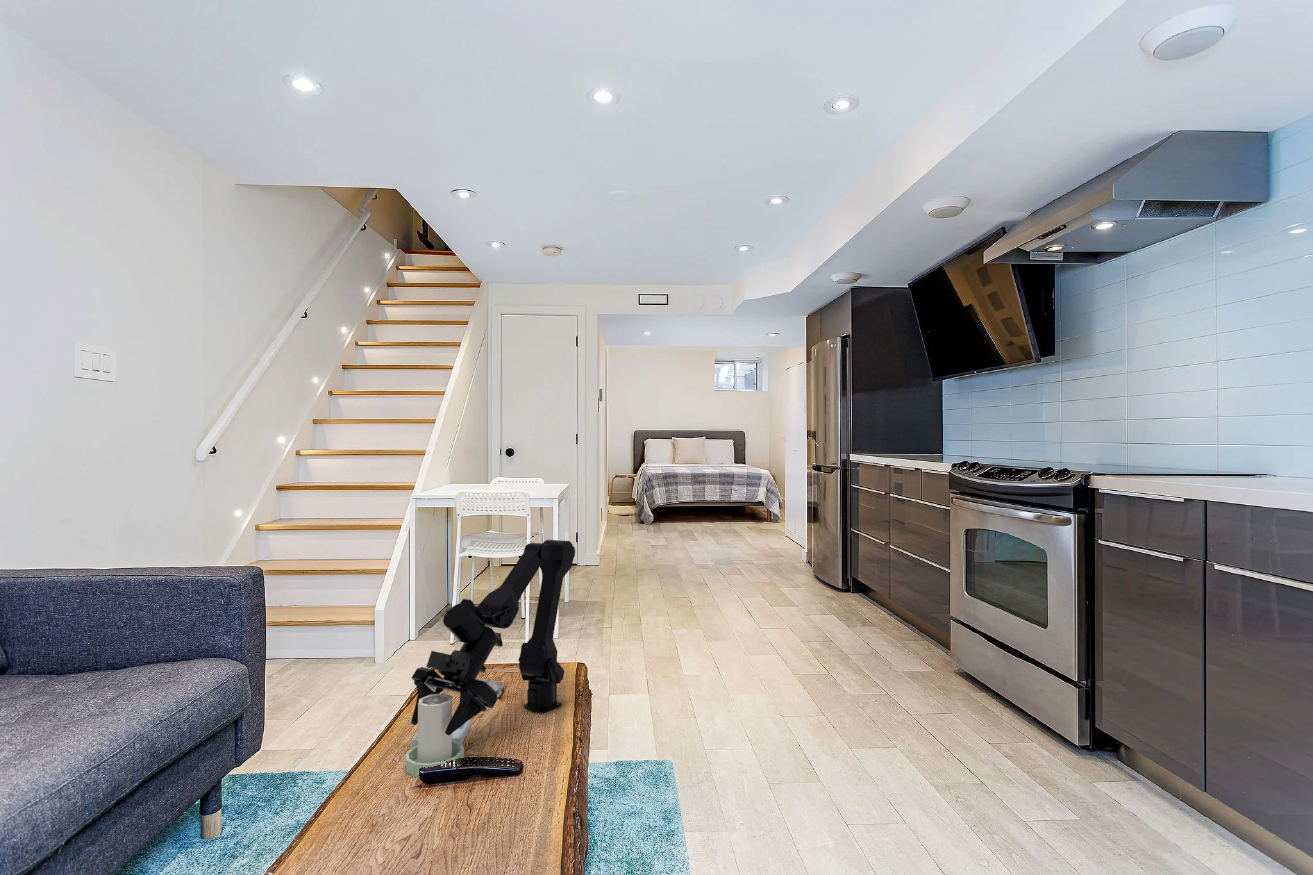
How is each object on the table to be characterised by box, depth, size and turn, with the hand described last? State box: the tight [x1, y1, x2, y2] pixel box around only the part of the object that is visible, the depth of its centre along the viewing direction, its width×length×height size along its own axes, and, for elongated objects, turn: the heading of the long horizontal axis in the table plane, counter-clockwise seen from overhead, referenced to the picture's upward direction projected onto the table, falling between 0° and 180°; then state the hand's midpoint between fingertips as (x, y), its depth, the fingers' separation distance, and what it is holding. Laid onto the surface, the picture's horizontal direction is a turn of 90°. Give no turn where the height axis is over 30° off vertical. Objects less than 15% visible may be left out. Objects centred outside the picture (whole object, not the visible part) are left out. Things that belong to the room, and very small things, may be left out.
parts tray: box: [410, 718, 472, 749], centre depth 134 cm, size 10×10×2 cm
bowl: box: [405, 740, 465, 778], centre depth 123 cm, size 10×10×3 cm
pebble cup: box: [417, 693, 453, 763], centre depth 123 cm, size 6×6×12 cm
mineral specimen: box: [476, 677, 505, 698], centre depth 162 cm, size 15×8×4 cm, turn 15°
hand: (429, 729), depth 122 cm, fingers open, 9 cm apart
